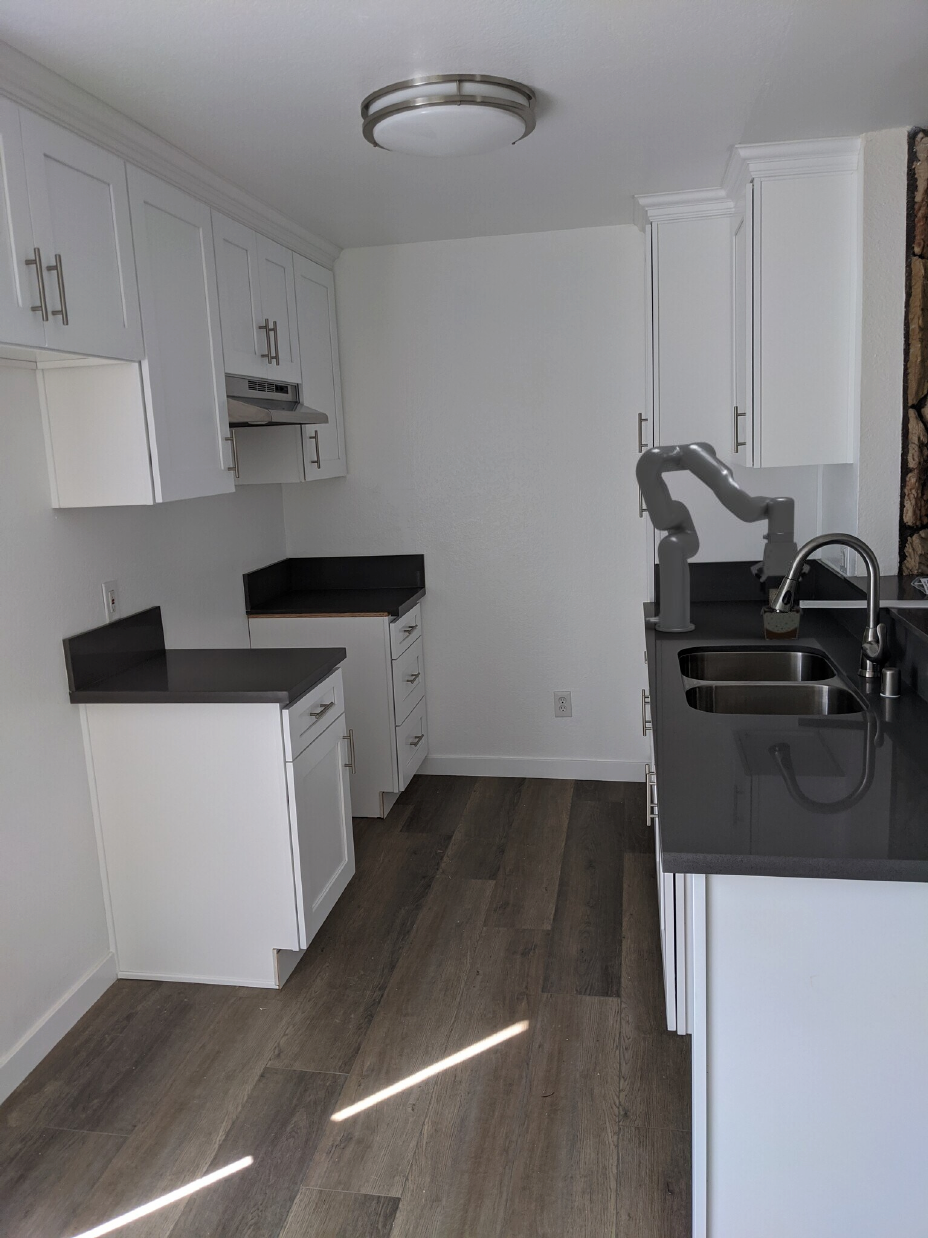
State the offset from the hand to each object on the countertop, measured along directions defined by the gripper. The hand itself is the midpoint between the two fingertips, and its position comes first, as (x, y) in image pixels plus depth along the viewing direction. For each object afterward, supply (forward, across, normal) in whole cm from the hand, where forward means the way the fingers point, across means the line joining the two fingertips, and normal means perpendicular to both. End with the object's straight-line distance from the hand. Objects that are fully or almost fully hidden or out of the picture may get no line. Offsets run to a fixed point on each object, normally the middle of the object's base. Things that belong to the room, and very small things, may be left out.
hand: (779, 593), depth 286 cm
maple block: (+4, 0, 0) cm, 4 cm away
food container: (+14, 0, 0) cm, 14 cm away
